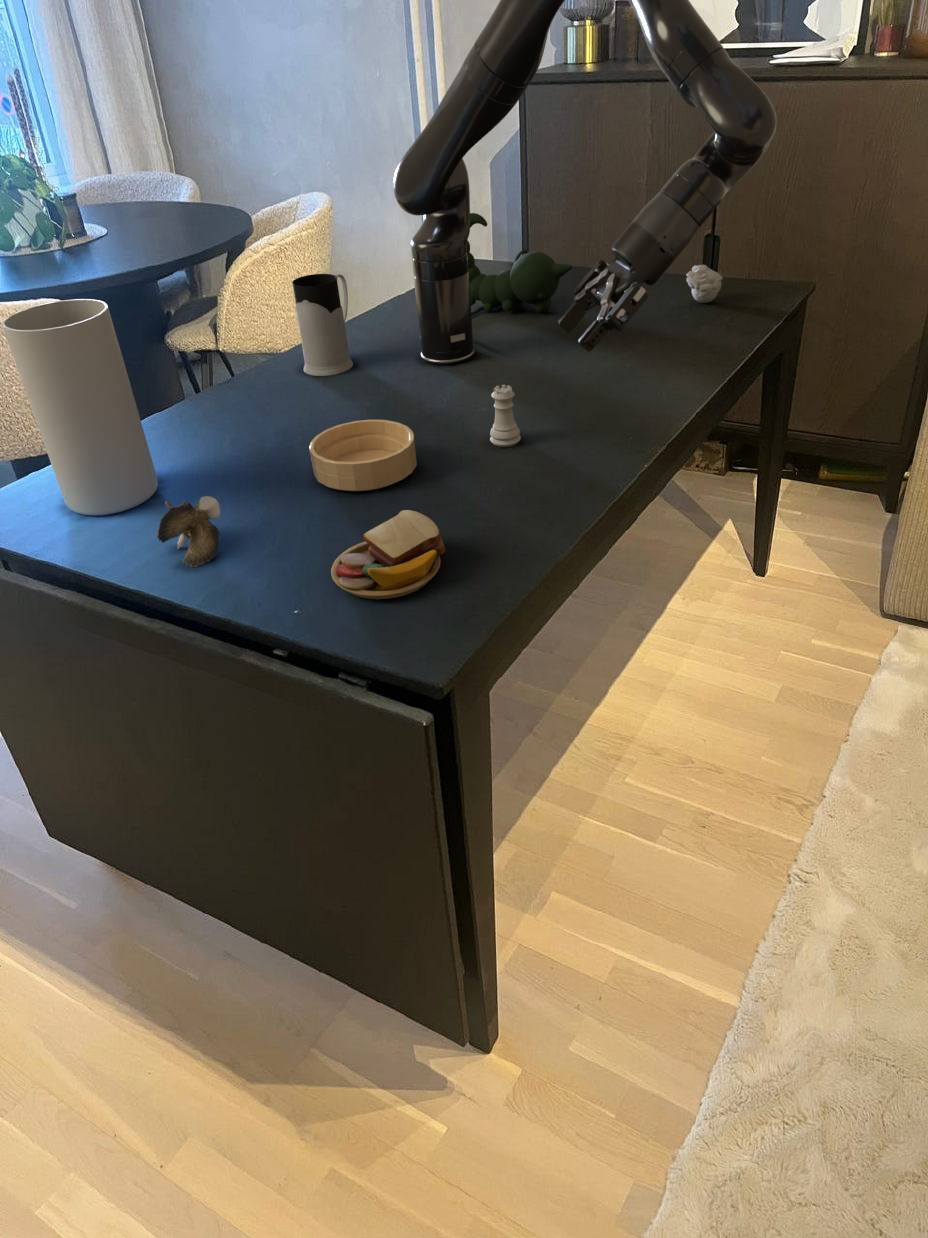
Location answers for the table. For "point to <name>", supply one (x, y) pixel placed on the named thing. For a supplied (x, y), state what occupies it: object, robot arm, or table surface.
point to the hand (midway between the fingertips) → (572, 337)
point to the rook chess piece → (504, 419)
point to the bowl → (363, 455)
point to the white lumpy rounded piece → (704, 283)
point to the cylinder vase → (83, 404)
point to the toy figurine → (515, 280)
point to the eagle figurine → (193, 529)
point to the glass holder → (322, 323)
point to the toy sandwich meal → (391, 558)
